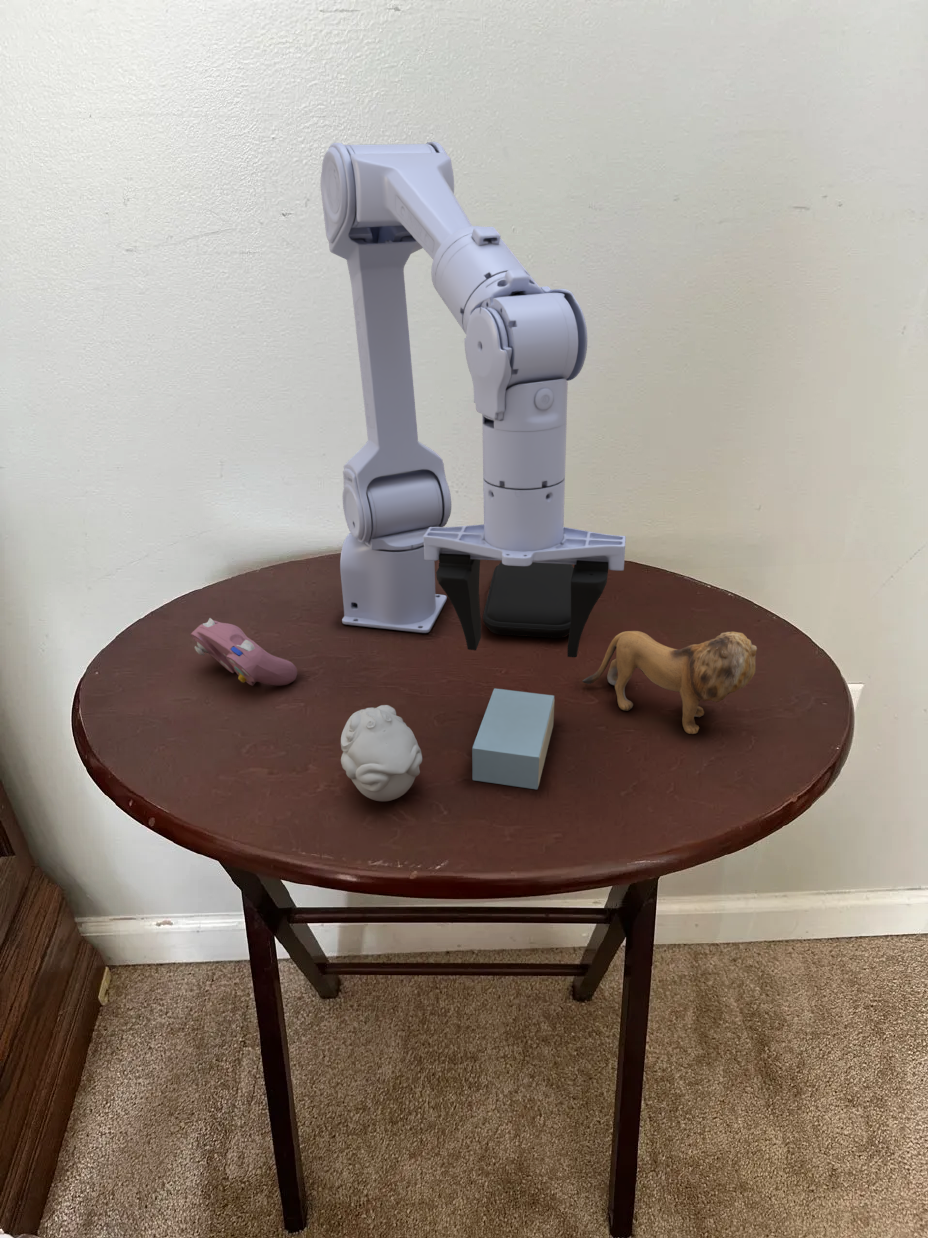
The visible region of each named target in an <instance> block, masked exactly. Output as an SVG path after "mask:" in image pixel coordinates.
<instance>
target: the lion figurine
mask: <svg viewBox="0 0 928 1238" xmlns="http://www.w3.org/2000/svg"><path fill="white" fill-rule="evenodd" d="M747 637H748V636H746V635H745V634H744V633H743V632H737V631H726V632H721V633H720V635H717V636H716V637H715V638H712V639H709V640H705V641H704V642H701V643H698V644H697V643H696V644H695V643H694V644H690V645H687V646H686V647H683V648H680V649H677V648H673V647H670V646H667V645H664V644H662V643H660V642H658V641H656V640H655V639H654V638H653V637H651V636H650V635H648V634H647V633H645V632H644V631H643V632H642V631H640V630H627V631H622V632H620V633H618V634H617V635H615V636H614V637H613V639H612V640H611V641H610V643H609V645H608V647H607V649H606V652H605V653H604V657H603V659H602V661H601V663H600V664H601V665H600V666H599V668H598V669H597V671H596V672H594V674H592V675H589V676H587V677H586V678H584V679H583V680H582V681H581V682H582V683H584V684H586V685H592V684H593V683H595V682H596V681H597V680H599V678H600V677H601V676H602V675H603V673H604V672H605V671H606V669H607V666H608V665H609V668H608V671H607V675H606V679H607V682H608V683H609V684H610V685H612V686H614V691H615V693H616V699H617V704H618V707H619V709H620V710H622V711H627V712H628V711H630V710H631V709H633V706H634V703H633V701H631V700H629V699H628V698H627V697H626V691H625V690H626V686H627V684H628V682H629V681H630V680H631V678H632V676H633V674H634V672H635V670H636V669H639V670H640V671H642V673H643V674H644V676H646V677H647V679H649V680H650V681H651V682H652V683H653V684H655V685H657V686H658V687H660V688H661V689H664V690H668V691H671V692H676V693H679V695H680V697H681V701H682V720H681V722H682V727H683V730H684V732H685V733H686V734H689V735H695V734H697V733H699V729H700V727H699V725H697V724H696V721H695V717H696V718H701V717H702V716H704V714H705V711H704V708H703V707H701V706H699V704H700V701H702V702H708V701H710V702H713V703H714V702H715V703H719V702H721V701H723V700H725V698H726V697H727V696H728V695H729V694H733V693H735V692H736V691H738V690H741V689H744V687H745V686H747V685H748V684H749V682H750V681H751V680H752V679H753V677H754V675H755V674H756V655H757V651H758V648H757V646H756V645H755V644H752V640H751V639H749V638H747ZM614 653H615V656H616V657H615V659H613V660H612V661H611V659H612V657H613V655H614ZM610 661H611V662H610ZM609 663H610V664H609Z"/></svg>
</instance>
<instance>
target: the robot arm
mask: <svg viewBox="0 0 928 1238" xmlns="http://www.w3.org/2000/svg"><path fill="white" fill-rule="evenodd" d="M445 150H446V149H444V147H443V145H442V144H441V143H439V142H437V141H427V142H426V143H387V144H385V143H383V144H382V143H379V144H378V143H377V144H343V143H342V142H332V143H331V144H330V145H329V147H328V148H327V151H326V152H325V153H324V156H323V159H322V163H321V173H320V179H319V180H320V194H321V202H322V212H323V221H324V229H325V236H326V239H327V241H328V248H329V252H330V253H332V254H334V255H336V256H338V257H340V258H342V259H344V260H345V261H346V265H347V271H348V275H349V280H350V286H351V295H352V305H353V314H354V322H355V333H356V342H357V351H358V360H359V361H358V362H359V369H360V378H361V388H362V398H363V406H364V416H365V427H366V435H367V441H366V442H365V444H364V445H363V446H362V447H360V449H358V450H357V452H355V454H353V456H351V457H350V458H349V459H348V460H347V461H346V462H345V464H343V471H342V478H343V479H342V480H343V489H342V509H343V515H344V519H345V522H346V525H347V528H348V531H349V533H348V534H347V535H346V536H345V538H344V541H343V543H342V546H341V551H340V559H339V560H340V561H339V569H340V570H339V571H340V582H341V592H342V603H343V617H342V619H341V622H342V624H343V625H346V626H347V625H348V626H357V627H364V628H365V627H366V628H375V629H383V630H394V631H401V632H411V633H420V634H429V633H430V632H431V630H432V628H433V626H434V624H435V623H436V620H437V619H438V617H439V615H440V613H441V611H442V610H443V608H444V606H445V605H446V602H447V600H449V601H450V603H451V605H452V607H453V609H454V610H455V613H456V615H457V618H458V620H459V623H460V625H461V629H462V633H463V635H464V639H465V643H466V648H467V650H469V651H477V649H478V647H479V644H480V641H481V639H482V618H481V605H480V570H481V560H483V561H498V562H499V561H500V562H502V564H504V565H508V566H529V565H531V564H532V562H537V563H556V564H571V565H573V568H574V570H573V573H572V578H571V623H570V632H569V634H568V641H567V652H566V653H567V658H577V657H578V652H579V646H580V641H581V638H582V635H583V631H584V629H585V626H586V624H587V621H588V619H589V617H590V615H591V613H592V611H593V609H594V607H595V605H596V604H597V602H598V600H599V598H600V597H601V596H602V594H603V592H604V590H605V588H606V586H607V583H608V576H609V570H610V571H620V572H621V571H622V572H623V571H624V570H625V557H626V540H627V537H626V535H617V534H609V533H601V532H595V531H590V530H583V529H578V528H573V527H566V526H565V497H566V496H565V494H566V493H565V491H566V458H567V457H566V455H567V424H568V423H567V421H568V420H567V418H568V389H569V387H568V385H569V384H568V382H569V381H572V380H574V379H575V378H576V377H578V376H579V374H580V373H581V371H582V369H583V367H584V365H585V361H586V357H587V353H588V329H587V323H586V322H587V321H586V318H585V315H584V312H583V310H582V307H581V305H580V303H579V302H578V300H577V299H576V297H575V295H574V293H573V292H572V291H570V290H569V289H567V288H553V289H552V288H550V286H549V285H547V286H546V285H545V286H544V285H543V286H540V285H539V284H538V283H537V282H536V280H535V279H534V278H533V277H532V275H531V274H530V273H529V272H528V270H527V269H526V268H525V267H524V265H523V264H522V263H521V262H520V260H519V259H518V257H517V256H516V255H515V254H514V252H512V250H511V248H509V246H508V245H507V244H506V243H505V241H504V240H503V239H502V238H501V236H502V235H501V234H500V233H499V232H498V230H497V229H496V227H494V226H482V225H473V224H472V222H471V221H470V219H469V217H468V216H467V214H466V212H465V211H464V209H463V207H462V205H461V204H460V202H459V200H458V199H457V197H456V195H455V176H454V169H453V164H452V158H451V157H450V156H449V155H448V153H447V152H446V151H445ZM422 249H423V250H424V251H425V252H426V253H427V255H428V256H429V257H430V258H431V259H432V264H431V271H430V274H431V282H432V286H433V288H434V289H435V291H436V293H437V294H438V296H439V297H440V299H441V300H442V302H443V303H444V304H445V306H446V308H447V309H448V310H449V312H450V313H451V315H452V316H453V318H454V319H455V321H456V322H457V324H458V325H459V326H460V328H461V330H462V331H463V332H464V334H465V338H464V339H463V341H464V353H465V359H466V363H467V368H468V371H469V373H470V376H471V382H472V386H473V387H472V389H473V403H474V404H475V410H476V412H477V413H479V414H481V424H482V427H481V430H482V487H483V489H482V491H483V523H482V524H471V525H459V526H458V525H457V526H446V525H447V523H448V521H449V519H450V517H451V514H452V495H451V489H450V486H449V483H448V480H447V477H446V471H445V464H444V461H443V459H442V457H441V456H440V455H439V454H438V453H437V452H436V451H435V450H434V449H432V448H430V447H429V446H427V444H424V443H422V442H421V441H420V440H419V434H418V424H417V412H416V401H415V389H414V388H415V387H414V377H413V365H412V364H413V363H412V353H411V342H410V330H409V317H408V306H407V293H406V282H405V272H404V271H405V266H406V264H407V262H408V260H409V258H410V256H411V255H412V254H414V253H416V252H418V251H421V250H422ZM436 561H438V562H439V563H438V568H437V570H436V567H435V565H436V564H435V563H436ZM436 580H437V582H438V585H439V586H440V588H441V589H442V590H443V591H444V593H445V594H439V593H436Z"/></svg>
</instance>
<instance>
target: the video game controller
mask: <svg viewBox="0 0 928 1238" xmlns="http://www.w3.org/2000/svg"><path fill="white" fill-rule="evenodd" d="M190 636H191V638H192V639H193V640H194V642H195V643H196V645H197V646H196V645H195V646H194V650H195V652H196V653H197V654H198V655H200V656H206V654H209V655H210V656H211V657H213V658H214V659H215V660H216V662H218V664H220V665H221V666H222V667H224V668H225V669H226V670H227V671H228V672H230V673H232V674H234V673H236V674H237V675H238V678H237V679H238V681H240V682H241V683H245V682H246V683H247V684H248V685H250V686H252V687H253V686H254V685H255V684H256V683H262V684H263V685H264V684H265V685H269V686H277V687H278V686H287V685H289V684H291V683H293V682H294V681H295V680H296V678H297V675H298V669H297V667H296V665H295V664H294V663H293V662H292V661H290V660H288V659H286V658H281V657H278V656H276V655H273V654H271V653H270V652H267V650H265V649H264V648H262V647H261V646H260V645H258V644H257V643H256V642H255V641H254V640H253V639H251V638H250V637H249V636H247V635H246V634H245V632H244V631H243V630H242V629H241V628H240V627H239V626H237V625H235V624H232V623H228V622H221V621H218V620H213V619H212V618H211V617H209V618H208V620H207V621H206V622H204V623H201V624H199V625H198V626H197V627H196V628H195V629H194V630H192V632H191V633H190ZM205 653H206V654H205Z"/></svg>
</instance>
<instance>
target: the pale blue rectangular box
mask: <svg viewBox="0 0 928 1238" xmlns="http://www.w3.org/2000/svg"><path fill="white" fill-rule="evenodd" d="M554 719H555V695H553V694H544V693H536V692H527V691H520V690H511V689H503V688H493V690H492V693H491V696H490V699H489V702H488V704H487V706H486V709H485V712H484V714H483V718H482V720H481V723H480V725H479V727H478V728H479V729H478V731H477V735H476V737H475V739H474V742H473V744H472V747H471V758H472V759H471V761H472V762H471V763H472V764H471V765H472V767H471V768H472V770H471V773H472V775H471V776H472V781H475V782H481V783H482V782H483V783H488V784H497V785H504V786H510V787H516V788H517V787H518V788H523V789H530V790H539V786H540V783H541V779H542V778H541V777H542V775H543V771H544V770H543V769H544V766H545V763H546V757H547V754H548V750H549V749H548V748H549V745H550V741H551V737H552V733H553V728H554V722H555V721H554Z"/></svg>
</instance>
